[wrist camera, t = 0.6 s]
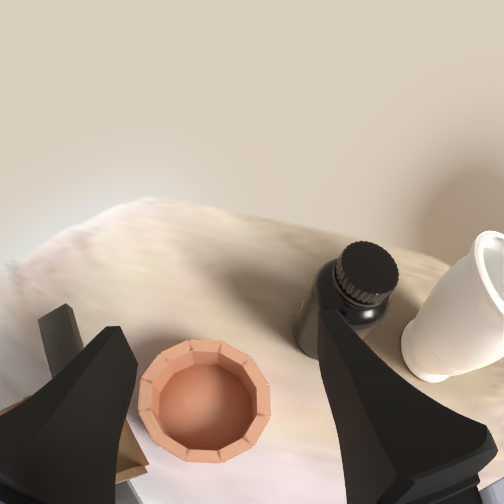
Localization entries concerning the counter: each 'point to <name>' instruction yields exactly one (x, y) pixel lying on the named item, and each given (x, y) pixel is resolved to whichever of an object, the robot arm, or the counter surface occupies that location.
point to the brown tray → (59, 356)
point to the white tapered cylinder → (460, 316)
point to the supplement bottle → (348, 292)
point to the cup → (204, 401)
